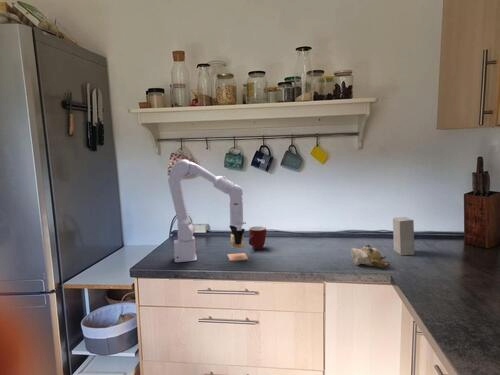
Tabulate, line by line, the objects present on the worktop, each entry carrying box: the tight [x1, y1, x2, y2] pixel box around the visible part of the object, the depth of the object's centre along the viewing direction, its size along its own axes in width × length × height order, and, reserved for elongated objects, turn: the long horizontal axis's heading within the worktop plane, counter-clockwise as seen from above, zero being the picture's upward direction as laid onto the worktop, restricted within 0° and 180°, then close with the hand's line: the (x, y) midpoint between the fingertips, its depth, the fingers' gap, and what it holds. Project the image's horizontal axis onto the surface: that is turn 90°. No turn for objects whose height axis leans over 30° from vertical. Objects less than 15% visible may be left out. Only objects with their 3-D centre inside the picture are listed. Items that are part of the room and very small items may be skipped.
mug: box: [248, 226, 267, 251], centre depth 171 cm, size 10×8×10 cm
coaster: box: [227, 252, 249, 262], centre depth 160 cm, size 8×8×1 cm
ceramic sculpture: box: [350, 244, 391, 268], centre depth 147 cm, size 11×9×15 cm
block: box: [230, 233, 245, 249], centre depth 159 cm, size 5×5×5 cm
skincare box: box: [392, 216, 415, 256], centre depth 162 cm, size 8×7×16 cm
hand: (237, 242), depth 159 cm, fingers closed on block, 5 cm apart
